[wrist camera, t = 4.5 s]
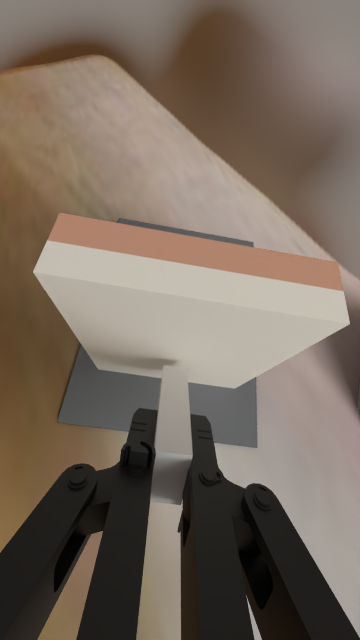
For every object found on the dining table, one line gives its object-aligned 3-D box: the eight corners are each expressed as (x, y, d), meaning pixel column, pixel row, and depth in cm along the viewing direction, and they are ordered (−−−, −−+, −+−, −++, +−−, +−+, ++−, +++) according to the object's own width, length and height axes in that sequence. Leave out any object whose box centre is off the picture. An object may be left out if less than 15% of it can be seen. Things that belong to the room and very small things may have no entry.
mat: (255, 447, 21) (257, 447, 21) (58, 422, 20) (57, 422, 19) (252, 244, 30) (253, 242, 30) (119, 220, 29) (119, 218, 29)
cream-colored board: (234, 388, 22) (350, 323, 10) (98, 369, 22) (32, 272, 9) (235, 356, 24) (337, 262, 11) (106, 336, 23) (59, 212, 10)
